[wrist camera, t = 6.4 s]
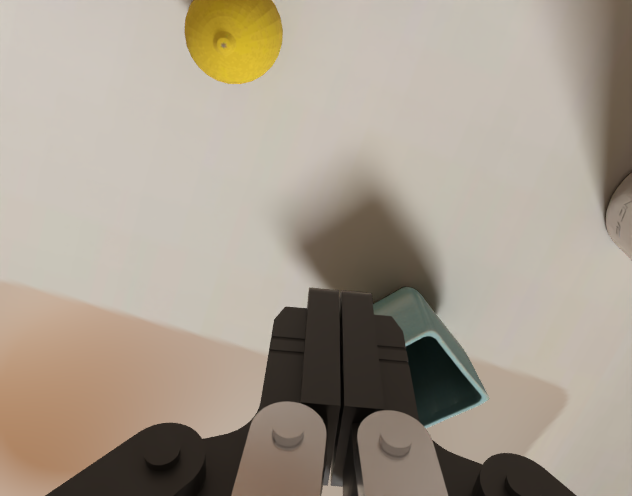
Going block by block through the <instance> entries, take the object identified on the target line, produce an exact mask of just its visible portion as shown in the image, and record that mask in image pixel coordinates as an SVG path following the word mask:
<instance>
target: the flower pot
mask: <svg viewBox="0 0 632 496" xmlns="http://www.w3.org/2000/svg"><path fill="white" fill-rule="evenodd" d="M373 310H374V315H385V316H392V317H393V318H394V320H395V321H396V322H397V324H398V325H399V327H400V328H401V329H402V331H403V334H404V339H405V345H406V351H407V356H408V365H409V367H410V373H411V378H412V384H413V389H414V395H415V400H416V406H417V412H418V417H419V420H420V423H421V424H422V425H423V426H424V427H425V428H429V427H430V426H433V425H435V424H437V423H440V422H442V421H444V420H446V419H449V418H451V417H453V416H456V415H458V414H461V413H463V412H465V411H467V410H470V409H472V408H474V407H476V406H479V405H481V404H483V403H484V402H486V401H487V400H488V399H489V397H488V395H487V393H486V391H485V389H484V387H483V385H482V383H481V381H480V379H479V377H478V375H477V373H476V371H475V369H474V367H473V365H472V363H471V361H470V360H469V358H468V356H467V354H466V353H465V351H464V349H463V348H462V347H461V345H460V344H459V343H458V341H457V340H456V339H455V338H454V336H453V335H452V334H451V333H450V331H449V330H448V329H447V328H446V326H445V325H444V324H443V323H442V321H441V320H440V319H439V317H438V316H437V315H436V314H435V312H434V311H433V310H432V308H431V307H430V306H429V305H428V303H427V302H426V300H425V299H424V298H423V296H422V295H421V294H420V293H419V292H418V291H417V290H415V289H413V288H411V287H403V288H401V289H399V290H398V291H396V292H394V293H392V294H391V295H389V296H387V297H385V298H384V299H382V300H380V301H378V302H376V303H375V304H373Z"/></svg>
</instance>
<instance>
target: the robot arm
mask: <svg viewBox="0 0 632 496" xmlns="http://www.w3.org/2000/svg"><path fill="white" fill-rule="evenodd" d="M606 226H607V231H608V234H609V235H610V237H611V239H612V241H613V242H614V243H615V244H616V245H617V246H618V247H619V248H620V249H621V250H622V251H623V252H624V253H625V254H626V255H627V256H628V257H629V258H630V259H631V260H632V173H631V174H629V175H628V176H627V177H626V178H625V179H624V180H623V182H622V183H621V184H620V185H619V186H618V188H617V189H616V191H615V193H614V194H613V196H612V198H611V200H610V202H609V205H608V209H607V212H606ZM330 468H331V486H341V487H343V496H576V495H575V494H574V493H573V492H571V491H570V490H569V489H568V488H567V487H566V486H564V485H563V484H562V483H561V482H560V481H558V480H557V479H556V478H555V477H554V476H552V475H551V474H550V473H549V472H548V471H547V470H545V469H544V468H543V467H541V466H540V465H539V464H537V463H536V462H534V461H532V460H530V459H528V458H526V457H523V456H520V455H517V454H511V453H501V454H496V455H494V456H491V457H490V458H488V459H487V460H486V461H485V462H484V464H483V465H482V464H479V463H477V462H474V461H471V460H469V459H466V458H463V457H460V456H458V455H456V454H453V453H451V452H449V451H447V450H445V449H444V448H442V447H441V446H439V445H438V444H437V443H435V442H434V441H433V440H432V438H431V436H430V434H429V432H428V431H427V429H426V428H425V427H424V426H423V425H422V424H421V423H420V420H419V417H418V412H417V406H416V400H415V395H414V389H413V384H412V378H411V373H410V367H409V365H408V356H407V351H406V345H405V339H404V334H403V331H402V329H401V328H400V327H399V325H398V324H397V322H396V321H395V320H394V318H393V317H392V316H385V315H374V310H373V301H372V294H371V293H364V292H353V291H342V290H341V292H340V298H339V290H330V289H319V288H309V294H308V304H307V308H296V307H285V308H284V309H283V310H282V311H281V312H280V314H279V315H278V316H277V317H276V318H275V319H274V324H273V330H272V337H271V342H270V348H269V355H268V361H267V367H266V373H265V380H264V385H263V391H262V397H261V403H260V407H259V409H258V411H257V413H256V415H255V416H254V417H253V419H252V420H251V421H250V422H249V423H247V424H246V425H245V426H243V427H242V428H240V429H238V430H236V431H234V432H231V433H228V434H224V435H220V436H215V437H210V438H206V439H201V437H200V436H199V434H198V433H197V432H196V431H194V430H193V429H192V428H190V427H188V426H186V425H182V424H178V423H162V424H157V425H153V426H151V427H148V428H146V429H144V430H142V431H140V432H139V433H138V434H136V435H134V436H133V437H131V438H130V439H128V440H127V441H125V442H124V443H122V444H121V445H120V446H118V447H117V448H115V449H114V450H112V451H111V452H109V453H108V454H106V455H105V456H103V457H102V458H100V459H99V460H97V461H96V462H95V463H93V464H91V465H90V466H88V467H87V468H86V469H84V470H83V471H81V472H80V473H78V474H77V475H75V476H74V477H73V478H71V479H69V480H68V481H66V482H65V483H63V484H62V485H61V486H59V487H57V488H56V489H54V490H53V491H52V492H50V493H49V494H47V495H46V496H321V493H322V487H323V485H328V480H329V474H330Z"/></svg>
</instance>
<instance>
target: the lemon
mask: <svg viewBox="0 0 632 496" xmlns="http://www.w3.org/2000/svg"><path fill="white" fill-rule="evenodd" d="M282 33H283V29H282V24H281V18H280V15H279V13H278V11H277V8H276V6H275V4H274V3H273V2H272V0H193V2H192V3H191V5H190V7H189V10H188V13H187V16H186V19H185V38H186V44H187V47H188V49H189V52H190V54H191V57H192V58H193V60H194V61H195V62H196V64H197V65H198V67H199V68H200V69H201V70H203V71H204V72H205V73H206V74H207V75H208V76H210V77H212V78H214V79H216V80H217V81H221V82H224V83H228V84H242V83H246V82H250V81H253V80H255V79H257V78H259V77H260V76H262V75H264V74H265V73H266V72H267V71H268V70H269V69H270V68H271V67H272V65H273V64H274V62H275V60H276V59H277V57H278V55H279V52H280V48H281V45H282Z"/></svg>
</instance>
